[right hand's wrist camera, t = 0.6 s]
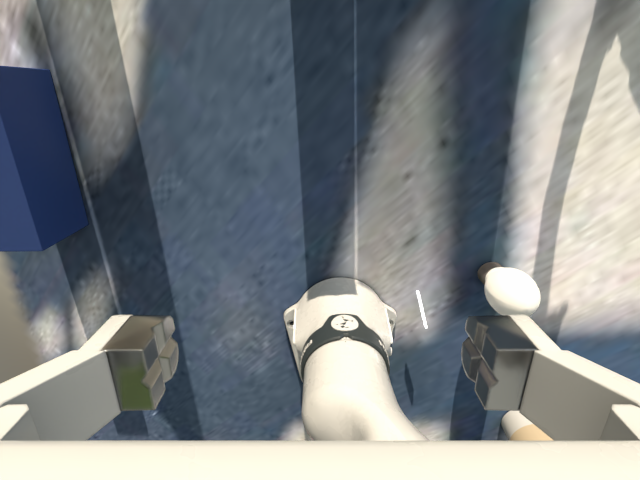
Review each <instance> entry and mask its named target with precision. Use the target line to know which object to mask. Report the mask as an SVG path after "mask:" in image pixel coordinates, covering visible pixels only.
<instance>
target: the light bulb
mask: <svg viewBox="0 0 640 480" xmlns="http://www.w3.org/2000/svg"><path fill="white" fill-rule="evenodd" d="M478 278H479V279H480V280H481V282H482V283H483V284H484V285H485V287H484V290H485V295H486V299H487V301H488V302H489V304H490V305H491V307H492V308H493V309H494V310H495V311H497V312H498V313H500V314H501V315H526V316H531V315H532V314H533V313H534V312H535V311H536V310H537V309H538V307H539V305H540V300H541V296H540V291H539V288H538V286H537V284H536V283H535V281H534V280H533V279H532V278H531V277H530V276H529V275H527V274H526V273H525V272H523V271H520V270H518V269H515V268H503V267H502V266H501V265H500V264H498V263H495V262H489V263H486V264H484V265H482V266H481V267H480V269H479V270H478Z"/></svg>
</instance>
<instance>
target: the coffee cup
mask: <svg viewBox="0 0 640 480" xmlns="http://www.w3.org/2000/svg"><path fill="white" fill-rule="evenodd" d="M501 425H502V428H503V430H504V432H505V434H506V437H507V439H508V441H554V440H553V439H551V438H550V437H549V436H548V435H547V434H545V433H544V432H543V431H542V430H540V429H539V428H538V427H537V426H535V425H534V424H533V423H532V422H530V421H529V420H528V419H527V418H525V417H524V416H523V415H522V414H520V413H519V411H509V412H508V413H507V414H505V416H504V417H503V419H502V421H501Z"/></svg>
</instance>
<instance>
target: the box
mask: <svg viewBox="0 0 640 480" xmlns="http://www.w3.org/2000/svg"><path fill="white" fill-rule="evenodd" d="M87 225H89V224H88V220H87V216H86V212H85V208H84V204H83V200H82V196H81V192H80V188H79V184H78V180H77V176H76V172H75V168H74V164H73V160H72V156H71V152H70V148H69V144H68V140H67V136H66V132H65V128H64V124H63V120H62V116H61V112H60V108H59V104H58V100H57V97H56V93H55V89H54V85H53V81H52V77H51V73H50V70H45V69H33V68H21V67H9V66H0V251H43V250H45V249H47V248H49V247H50V246H52V245H54V244H56V243H57V242H59V241H61V240H63V239H64V238H66V237H68V236H70V235H71V234H73V233H75V232H77V231H78V230H80V229H82V228H84V227H85V226H87Z"/></svg>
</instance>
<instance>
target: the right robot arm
mask: <svg viewBox="0 0 640 480" xmlns="http://www.w3.org/2000/svg"><path fill="white" fill-rule="evenodd" d="M416 292H417V296H418V301H419V305H420V309H421V314H422V318H423V322H424V326H425V328H427V324H426V320H425V315H424V311H423V306H422V302H421V297H420V293H419V291H418V290H417V291H416ZM396 319H397V315H396V311H395V310H394V309H393V308H391V307H390V306H388V305H386V304H385V303H383V302H382V301H381V299H380V298H379V297H378V295H377V294H376V293H375V291H374V290H373V289H372V288H370V287H369V286H368V285H366V284H365V283H363V282H361V281H358V280H355V279H351V278H344V277H338V278H330V279H327V280H324V281H321V282H319V283H317V284H315V285H314V286H312V287H311V288H310V289H309V290H308V291H307V292H306V293H305V294H304V295H303V297H302V298H301V299H300V301H299V302H298V303H297V304H295V305H293V306H291V307H290V308H288V309H287V310H286V311H285V312H284V321H285V325H286V328H287V332H288V335H289V339H290V342H291V346H292V350H293V353H294V357H295V360H296V364H297V367H298V371H299V374H300V378H301V380H302V382H303V398H302V420H303V424H304V427H305V429H306V431H307V433H308V435H309V436H310V438H311V439H312V441H86V440H87V439H89V438H90V437H91V436H92V435H94V434H95V433H96V432H97V431H99V430H100V429H101V428H102V427H104V426H105V425H106V424H107V423H109V422H110V421H111V420H112V419H114V418H115V417H116V416H117V415H119V414H120V413H121V411H134V410H155V409H156V407H157V405H158V403H159V401H160V400H161V398H162V396H163V394H164V392H165V385H164V383H165V382H167V381H168V380H170V379H171V378H172V377H173V375H174V373H175V371H176V368H177V363H178V353H179V350H178V344H177V342H176V341H175V340H174V339H173V338H172V337H171V335H172V334H173V332H174V330H175V326H174V321H173V318H172V317H171V316H164V315H114V316H111V317H110V318H109V319H108V320H107V321H106V322H105V323H104V324H103V326H102V327H101V328H100V329H99V330H98V331H97V332H96V333H95V334H94V335H93V336H92V337H91V338H90V339H89V340H88V341H87V342H86V343H85V344H84V345H83V346H82V347H81V348H80V349H79V350H78V351H70V352H68V353H66V354H64V355H62V356H59V357H57V358H55V359H53V360H51V361H49V362H46V363H44V364H42V365H40V366H38V367H36V368H33V369H31V370H29V371H27V372H25V373H23V374H21V375H18V376H16V377H14V378H12V379H10V380H8V381H5V382H3V383H1V384H0V480H640V384H639V383H637V382H634V381H632V380H630V379H628V378H626V377H624V376H622V375H619V374H617V373H615V372H613V371H611V370H609V369H606V368H604V367H602V366H600V365H598V364H596V363H593V362H591V361H589V360H587V359H585V358H583V357H581V356H578V355H576V354H574V353H572V352H570V351H562V350H561V349H560V348H559V347H558V346H557V345H556V344H555V343H554V342H553V341H552V340H551V339H550V338H549V337H548V336H547V335H546V334H545V333H544V332H543V331H542V330H541V329H540V328H539V326H538V325H537V324H536V323H535V322H534V321H533V320H532V319H531V318H530V317H529V316H526V315H499V316H469V317H468V319H467V321H466V326H465V330H466V332H467V334H468V335H469V337H468V338H467V339H466V340H465V341H464V342H463V344H462V352H461V356H462V364H463V368H464V371H465V373H466V375H467V377H468V378H469V379H470V380H472V381H473V382H475V383H476V385H475V392H476V394H477V396H478V398H479V400H480V401H481V403H482V405H483V407H484V409H485V410H506V411H519V413H520V414H522V415H523V416H524V417H525V418H527V419H528V420H529V421H530V422H532V423H533V424H534V425H535V426H537V427H538V428H539V429H540V430H542V431H543V432H544V433H545V434H547V435H548V436H549V437H550V438H551V439H553V440H554V441H430V440H428V439H427V438H426V437H425V436H424V435H423V434H422V433H421V432H420V431H419V430H418V429H416V428H415V426H414V425H413V424H412V423H411V422H410V421H409V420H408V419H407V417H406V416H405V415H404V413H403V412H402V410H401V409H400V407H399V405H398V403H397V400H396V397H395V395H394V392H393V389H392V386H391V382H390V379H389V372H390V369H389V358H388V356H391V354H392V348H391V347H390V344H392V343H393V337H392V332H393V329H394V325H395V322H396ZM291 321H294V323H291Z"/></svg>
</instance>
